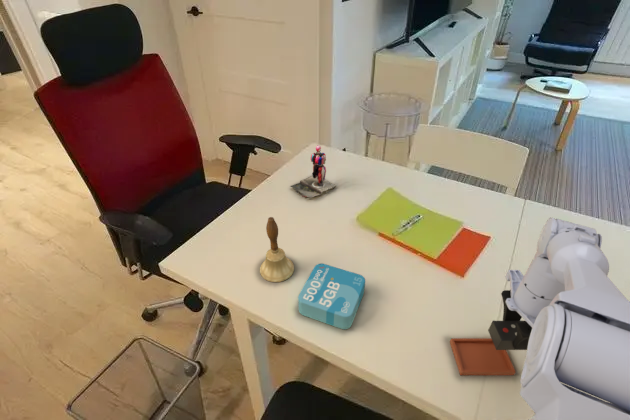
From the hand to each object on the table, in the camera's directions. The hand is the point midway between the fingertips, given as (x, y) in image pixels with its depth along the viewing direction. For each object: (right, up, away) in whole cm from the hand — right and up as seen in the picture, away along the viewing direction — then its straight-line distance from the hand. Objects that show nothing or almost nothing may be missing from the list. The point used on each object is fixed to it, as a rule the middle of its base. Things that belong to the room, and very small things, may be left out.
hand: (513, 335), depth 66 cm
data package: (-26, +2, +13) cm, 29 cm away
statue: (-36, +29, +50) cm, 68 cm away
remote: (0, -1, +1) cm, 1 cm away
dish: (-3, -6, +6) cm, 9 cm away
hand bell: (-45, +8, +24) cm, 51 cm away
